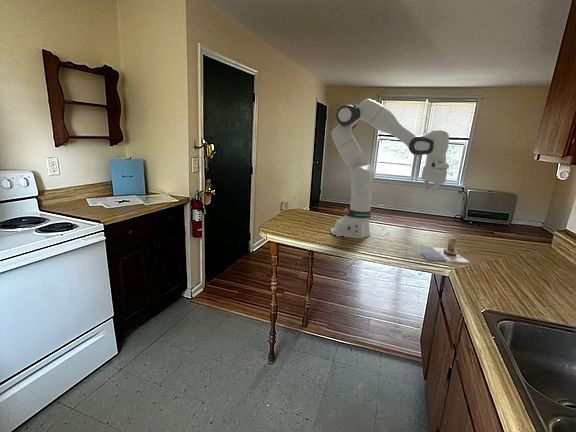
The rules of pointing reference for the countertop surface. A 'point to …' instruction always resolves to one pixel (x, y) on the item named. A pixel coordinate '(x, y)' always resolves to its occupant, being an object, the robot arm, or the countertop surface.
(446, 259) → the stamping board
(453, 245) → the stamp
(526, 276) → the countertop surface
